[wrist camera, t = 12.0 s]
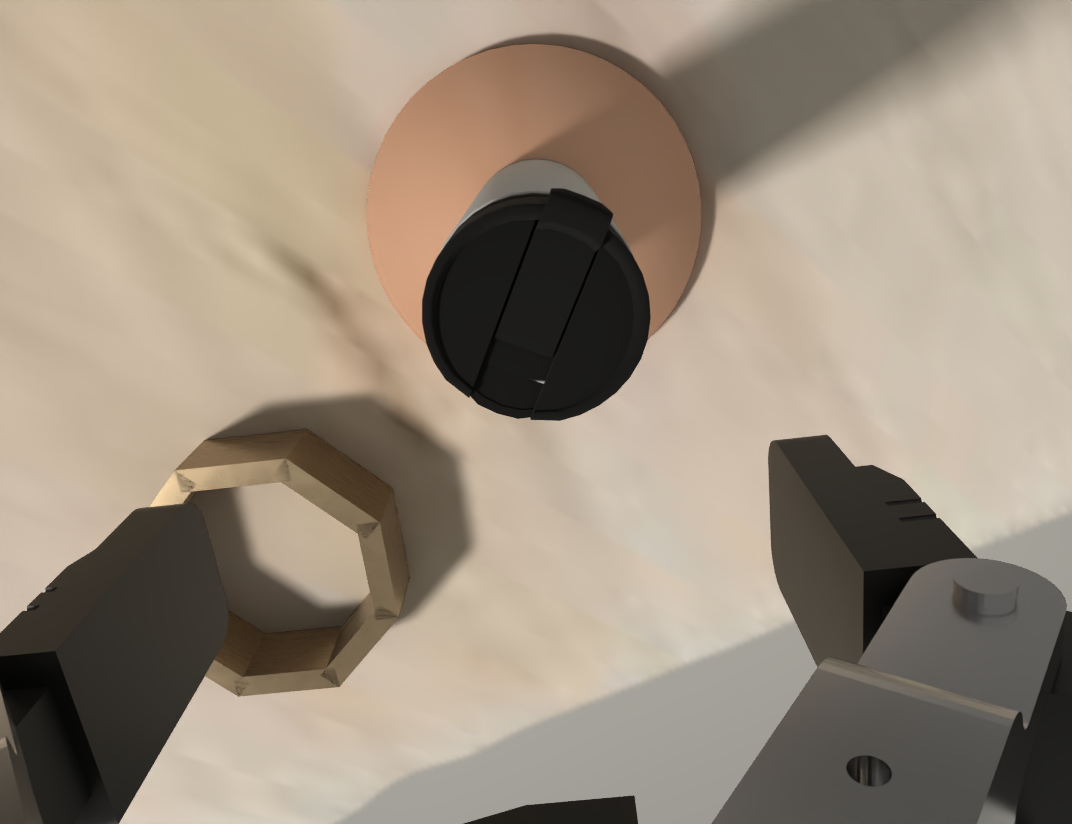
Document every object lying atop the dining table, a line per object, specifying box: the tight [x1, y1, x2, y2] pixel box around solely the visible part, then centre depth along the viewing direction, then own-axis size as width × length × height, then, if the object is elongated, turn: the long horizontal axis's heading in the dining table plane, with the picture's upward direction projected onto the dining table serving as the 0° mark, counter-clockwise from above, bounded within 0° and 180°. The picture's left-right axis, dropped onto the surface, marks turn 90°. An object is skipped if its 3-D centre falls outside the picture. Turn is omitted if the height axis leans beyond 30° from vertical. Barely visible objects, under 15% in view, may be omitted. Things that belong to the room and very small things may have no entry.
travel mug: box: [422, 158, 651, 421], centre depth 32 cm, size 6×7×20 cm
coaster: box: [367, 44, 702, 343], centre depth 42 cm, size 16×16×1 cm
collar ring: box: [150, 429, 410, 696], centre depth 47 cm, size 13×13×4 cm
